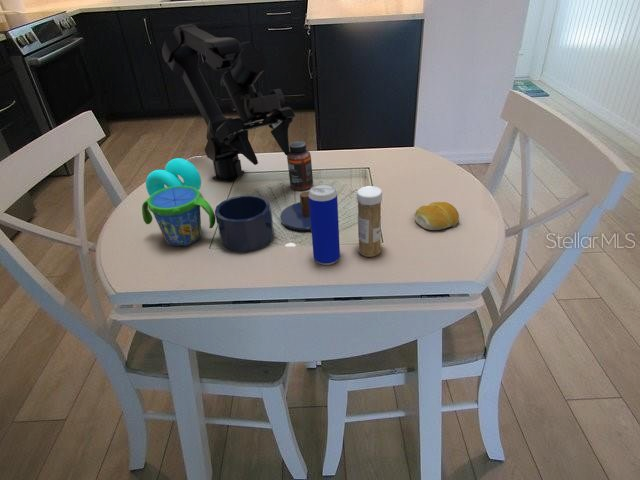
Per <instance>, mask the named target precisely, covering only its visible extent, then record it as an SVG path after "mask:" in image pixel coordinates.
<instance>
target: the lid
mask: <svg viewBox="0 0 640 480" xmlns="http://www.w3.org/2000/svg"><path fill="white" fill-rule="evenodd" d="M299 201H300V202H296V203H293V204H290V205H289V206H286V207H285V208H284V209H283V210H281V212H280V216H279V218H280V222H281V224H282V225H284V226H285V227H287V228H289V229H291V230H292V229H293V230H295V231H311V220H310V208H309V191H301V192H300V193H299Z"/></svg>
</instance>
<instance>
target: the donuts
mask: <svg viewBox="0 0 640 480" xmlns="http://www.w3.org/2000/svg"><path fill="white" fill-rule="evenodd" d="M180 177H181V178H180ZM173 186H191V187H194V188H196V189H198V190H199V191H200V189H201V186H202V177H201V174H200V172H199V170H198V168H197V167H196V166H195V165H194V164H193V163H192V162H190V161H189V160H187V159H185V158H181V157H175V158H172V159H170V160H169V161H168V162H167V163H166V165H165V167H164V169H155V170H153V171H151V172H149V174H148V175H147V177H146V180H145V188H146V191H147V194H148V196H149V197H150V196H151V195H152V194H154V193H155V192H157V191H159V190H161V189H165V188H168V187H173Z"/></svg>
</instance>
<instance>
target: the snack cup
mask: <svg viewBox="0 0 640 480" xmlns="http://www.w3.org/2000/svg"><path fill="white" fill-rule="evenodd" d="M201 208H202V209H203V211H205V212H206V213H207V215H208V218H209V221H208V222H209V229H213V227H214V226H215V224H216V216H215V211H214V210H213V208H212V206H211V204H210V203H209V202H208V201H207V200H206V199H205V198H203V197H202V196H201V192H200V189H199V190H198V189H196V188H194V187H191V186H173V187H165V189H161V190H159V191H157V192H155V193H154V194H152V195H151V196H149V197H148V198H147V199H145V200H144V202H143V203H142V206H141V215H142V219H143V222H144V223H145V224H146V225H150V224H151V223H152V222H153V216H154V219H155V221H156V223H157V225H158V227H159V229H160V231H161V233H162V235H163V238H164V240H165V241H166V243H167V244H168V245H170V246H177V247H178V246H188V245H189V244H193V243H194V242H196V241H197V240H199V239H200V238H201V234H202V219H201ZM152 214H153V216H152Z"/></svg>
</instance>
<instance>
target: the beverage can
mask: <svg viewBox="0 0 640 480" xmlns="http://www.w3.org/2000/svg"><path fill="white" fill-rule="evenodd" d="M308 192H309V208H310V220H311V230H310V232H311V240H312V241H311V243H312V254H313V255H312V256H313V260H314V261H315V262H316V263H318V264H319V265H321V266H322V265H323V266H328V265H333V264H335V263H337V262H338V261H339V259H340V257H341V249H340V227H339V205H338V204H339V203H338V201H339V200H338V192H337V190H336V187H335V186H334V185H332V184H329V183H320V184H315V185H312V187H310V188H309V191H308Z"/></svg>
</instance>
